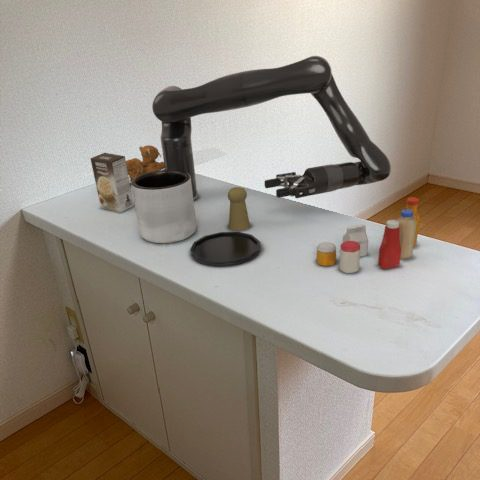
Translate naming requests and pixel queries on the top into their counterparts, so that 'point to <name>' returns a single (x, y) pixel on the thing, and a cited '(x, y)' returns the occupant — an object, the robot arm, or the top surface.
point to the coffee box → (112, 182)
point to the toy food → (392, 247)
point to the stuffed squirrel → (144, 162)
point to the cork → (238, 209)
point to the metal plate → (225, 249)
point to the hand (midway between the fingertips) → (270, 189)
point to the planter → (164, 206)
